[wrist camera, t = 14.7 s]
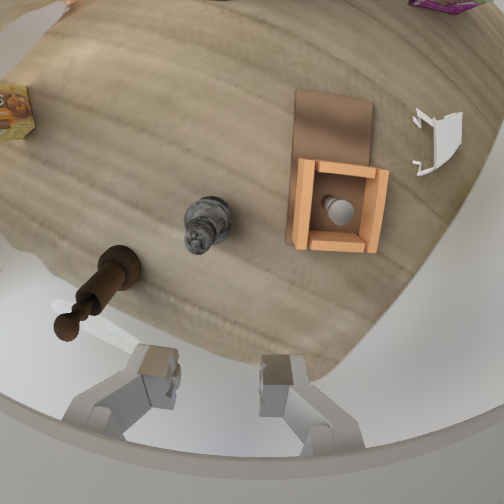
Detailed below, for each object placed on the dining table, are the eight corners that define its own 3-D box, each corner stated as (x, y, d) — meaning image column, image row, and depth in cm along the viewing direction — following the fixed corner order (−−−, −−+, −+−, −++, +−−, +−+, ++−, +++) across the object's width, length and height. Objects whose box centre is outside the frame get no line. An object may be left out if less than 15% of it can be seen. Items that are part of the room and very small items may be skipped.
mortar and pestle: (139, 289, 42) (88, 366, 25) (103, 278, 41) (43, 347, 24) (142, 250, 39) (81, 319, 23) (104, 240, 39) (33, 299, 22)
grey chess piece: (234, 194, 37) (226, 218, 25) (232, 237, 39) (224, 277, 28) (189, 193, 36) (162, 215, 25) (189, 235, 39) (165, 273, 27)
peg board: (294, 91, 32) (305, 78, 25) (368, 102, 32) (393, 95, 25) (284, 240, 39) (291, 262, 32) (353, 244, 39) (373, 265, 32)
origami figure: (410, 91, 31) (429, 87, 26) (452, 115, 31) (471, 114, 27) (394, 167, 35) (411, 171, 30) (436, 186, 36) (455, 192, 31)
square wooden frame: (298, 157, 33) (304, 159, 30) (375, 167, 34) (389, 170, 30) (291, 238, 37) (296, 249, 33) (365, 242, 37) (376, 253, 34)
